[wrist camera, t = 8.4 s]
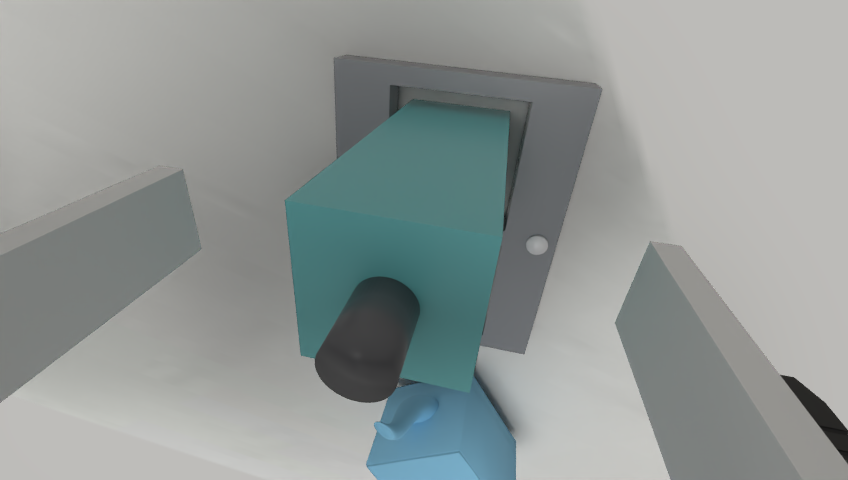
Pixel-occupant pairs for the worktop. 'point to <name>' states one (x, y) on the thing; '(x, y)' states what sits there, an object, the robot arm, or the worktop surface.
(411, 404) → the boxy blue kettle
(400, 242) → the plug
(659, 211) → the worktop surface
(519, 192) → the socket plate
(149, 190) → the robot arm
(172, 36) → the worktop surface
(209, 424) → the worktop surface
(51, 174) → the worktop surface
